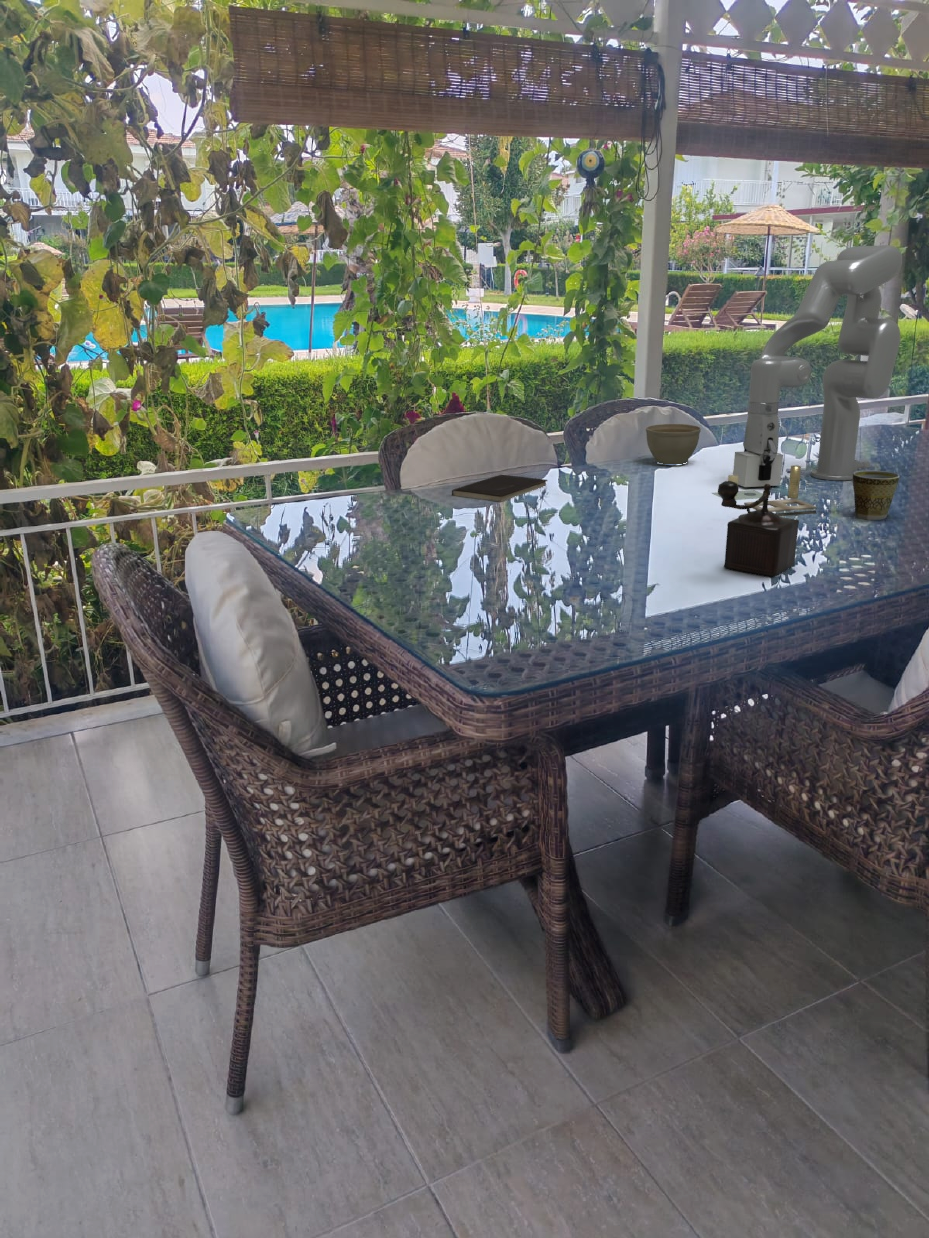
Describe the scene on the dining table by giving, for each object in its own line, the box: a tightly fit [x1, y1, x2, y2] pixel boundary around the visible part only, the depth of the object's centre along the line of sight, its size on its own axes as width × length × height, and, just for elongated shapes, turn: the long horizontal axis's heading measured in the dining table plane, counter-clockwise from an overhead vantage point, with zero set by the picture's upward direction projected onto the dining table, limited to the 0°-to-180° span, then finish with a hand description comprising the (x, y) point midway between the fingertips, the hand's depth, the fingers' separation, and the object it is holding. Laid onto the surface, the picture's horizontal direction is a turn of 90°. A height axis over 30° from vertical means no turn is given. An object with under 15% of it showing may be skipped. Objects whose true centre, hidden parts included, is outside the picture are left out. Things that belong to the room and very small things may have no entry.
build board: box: [743, 498, 817, 517], centre depth 227 cm, size 14×9×2 cm, turn 102°
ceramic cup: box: [852, 469, 900, 521], centre depth 220 cm, size 13×10×10 cm
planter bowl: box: [645, 423, 702, 464], centre depth 285 cm, size 16×16×11 cm
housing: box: [732, 451, 784, 488], centre depth 247 cm, size 10×7×8 cm
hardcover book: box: [451, 474, 548, 503], centre depth 256 cm, size 16×23×2 cm
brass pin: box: [787, 464, 802, 499], centre depth 234 cm, size 2×2×9 cm
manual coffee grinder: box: [717, 480, 800, 578], centre depth 180 cm, size 16×11×18 cm
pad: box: [711, 474, 772, 501], centre depth 238 cm, size 12×9×6 cm
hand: (757, 476), depth 248 cm, fingers closed on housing, 7 cm apart
